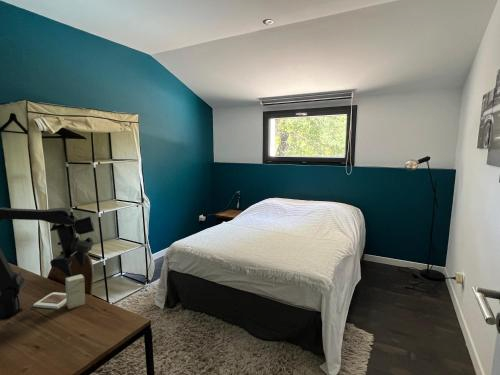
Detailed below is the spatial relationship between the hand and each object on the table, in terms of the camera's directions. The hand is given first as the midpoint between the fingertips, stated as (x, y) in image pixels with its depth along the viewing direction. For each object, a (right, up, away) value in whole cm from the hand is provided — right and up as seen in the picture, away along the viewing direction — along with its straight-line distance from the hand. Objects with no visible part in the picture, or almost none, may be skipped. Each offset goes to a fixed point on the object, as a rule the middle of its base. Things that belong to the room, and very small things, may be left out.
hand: (76, 271), depth 116 cm
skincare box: (0, -14, -1) cm, 14 cm away
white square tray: (-10, -13, +1) cm, 17 cm away
